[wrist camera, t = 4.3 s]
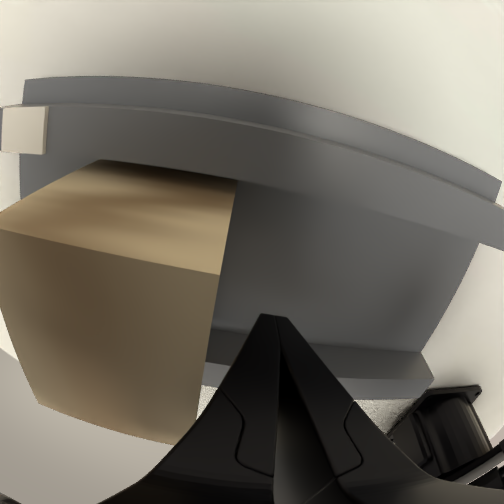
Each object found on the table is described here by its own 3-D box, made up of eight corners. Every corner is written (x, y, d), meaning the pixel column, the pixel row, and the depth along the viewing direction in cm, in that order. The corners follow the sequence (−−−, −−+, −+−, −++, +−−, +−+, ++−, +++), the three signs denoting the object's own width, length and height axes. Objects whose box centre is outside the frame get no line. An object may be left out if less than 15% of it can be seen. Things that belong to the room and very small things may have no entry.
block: (237, 180, 10) (219, 275, 5) (211, 321, 13) (191, 448, 8) (99, 159, 10) (-19, 223, 4) (100, 297, 12) (38, 403, 7)
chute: (488, 175, 11) (534, 198, 8) (394, 370, 16) (410, 412, 13) (39, 79, 9) (-12, 82, 6) (48, 312, 14) (21, 350, 12)
